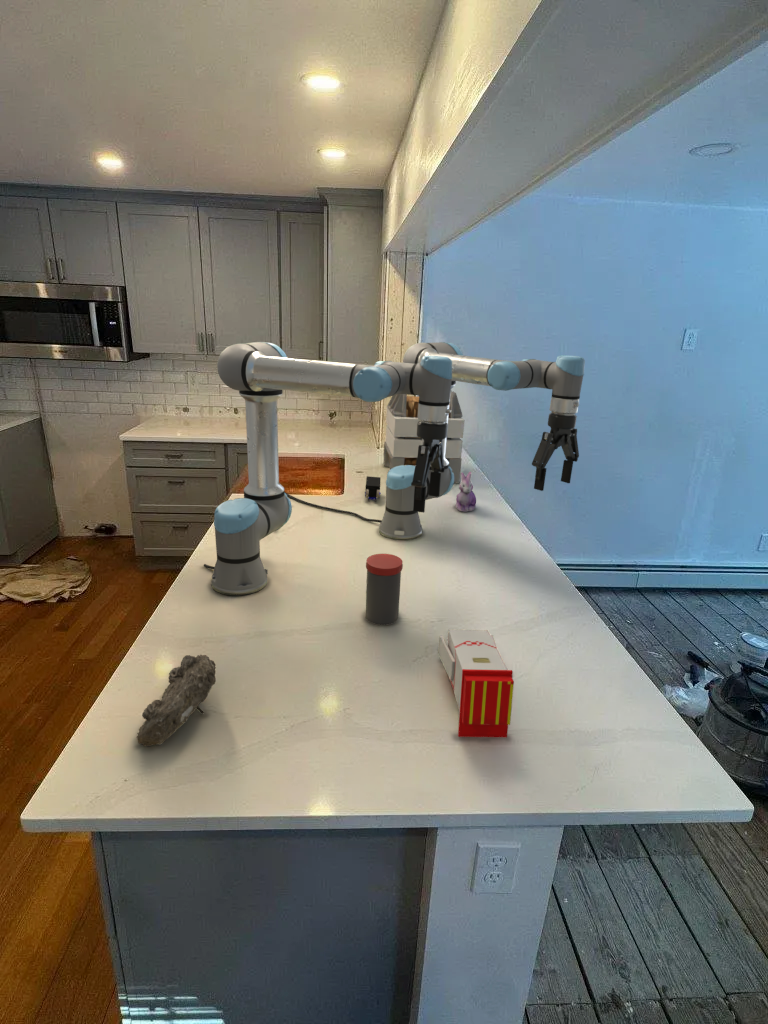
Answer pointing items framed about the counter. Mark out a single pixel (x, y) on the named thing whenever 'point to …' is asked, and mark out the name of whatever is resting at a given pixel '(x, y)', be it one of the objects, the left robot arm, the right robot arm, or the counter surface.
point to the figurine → (466, 494)
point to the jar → (382, 598)
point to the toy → (478, 682)
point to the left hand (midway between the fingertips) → (426, 503)
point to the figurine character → (372, 488)
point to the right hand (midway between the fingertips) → (552, 485)
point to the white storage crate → (404, 433)
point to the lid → (384, 564)
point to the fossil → (178, 699)
